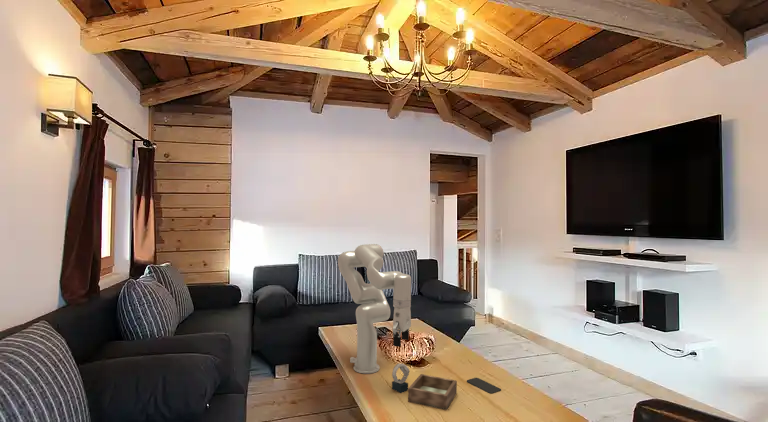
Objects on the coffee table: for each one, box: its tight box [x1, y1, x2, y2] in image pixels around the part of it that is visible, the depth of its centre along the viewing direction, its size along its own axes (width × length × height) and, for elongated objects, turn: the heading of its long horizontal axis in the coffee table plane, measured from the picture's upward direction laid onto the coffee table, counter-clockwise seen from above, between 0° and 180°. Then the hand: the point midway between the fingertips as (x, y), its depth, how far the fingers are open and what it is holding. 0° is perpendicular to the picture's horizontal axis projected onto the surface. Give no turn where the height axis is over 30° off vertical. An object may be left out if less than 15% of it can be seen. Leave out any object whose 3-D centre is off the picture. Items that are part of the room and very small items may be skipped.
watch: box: [391, 362, 411, 394], centre depth 179 cm, size 6×8×11 cm
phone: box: [466, 377, 502, 395], centre depth 185 cm, size 7×1×15 cm
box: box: [407, 373, 458, 411], centre depth 172 cm, size 16×16×6 cm
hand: (401, 342), depth 179 cm, fingers open, 9 cm apart
